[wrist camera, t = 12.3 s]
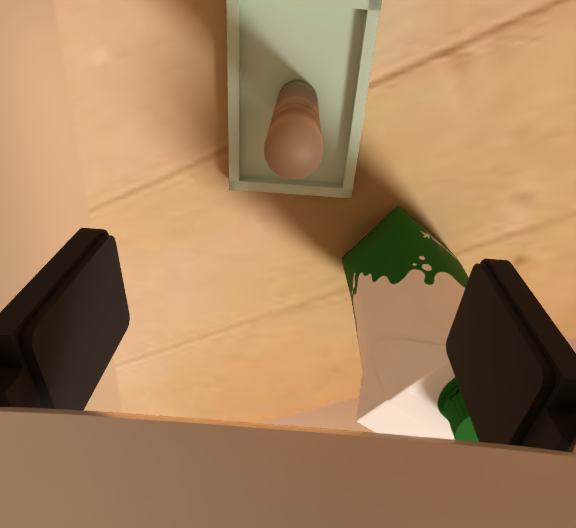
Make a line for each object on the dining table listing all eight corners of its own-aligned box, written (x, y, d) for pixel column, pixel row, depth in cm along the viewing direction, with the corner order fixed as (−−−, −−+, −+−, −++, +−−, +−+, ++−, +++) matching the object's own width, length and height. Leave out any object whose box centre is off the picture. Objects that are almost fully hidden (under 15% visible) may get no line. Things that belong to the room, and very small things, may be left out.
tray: (229, -15, 28) (226, -16, 27) (378, -5, 28) (382, -5, 27) (232, 182, 36) (229, 189, 35) (349, 190, 36) (351, 198, 35)
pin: (278, 78, 31) (264, 118, 21) (319, 81, 31) (326, 123, 21) (276, 120, 32) (263, 177, 22) (315, 123, 32) (319, 181, 22)
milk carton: (464, 249, 39) (586, 447, 22) (391, 308, 43) (447, 514, 26) (398, 191, 36) (479, 367, 19) (326, 260, 40) (341, 456, 23)
